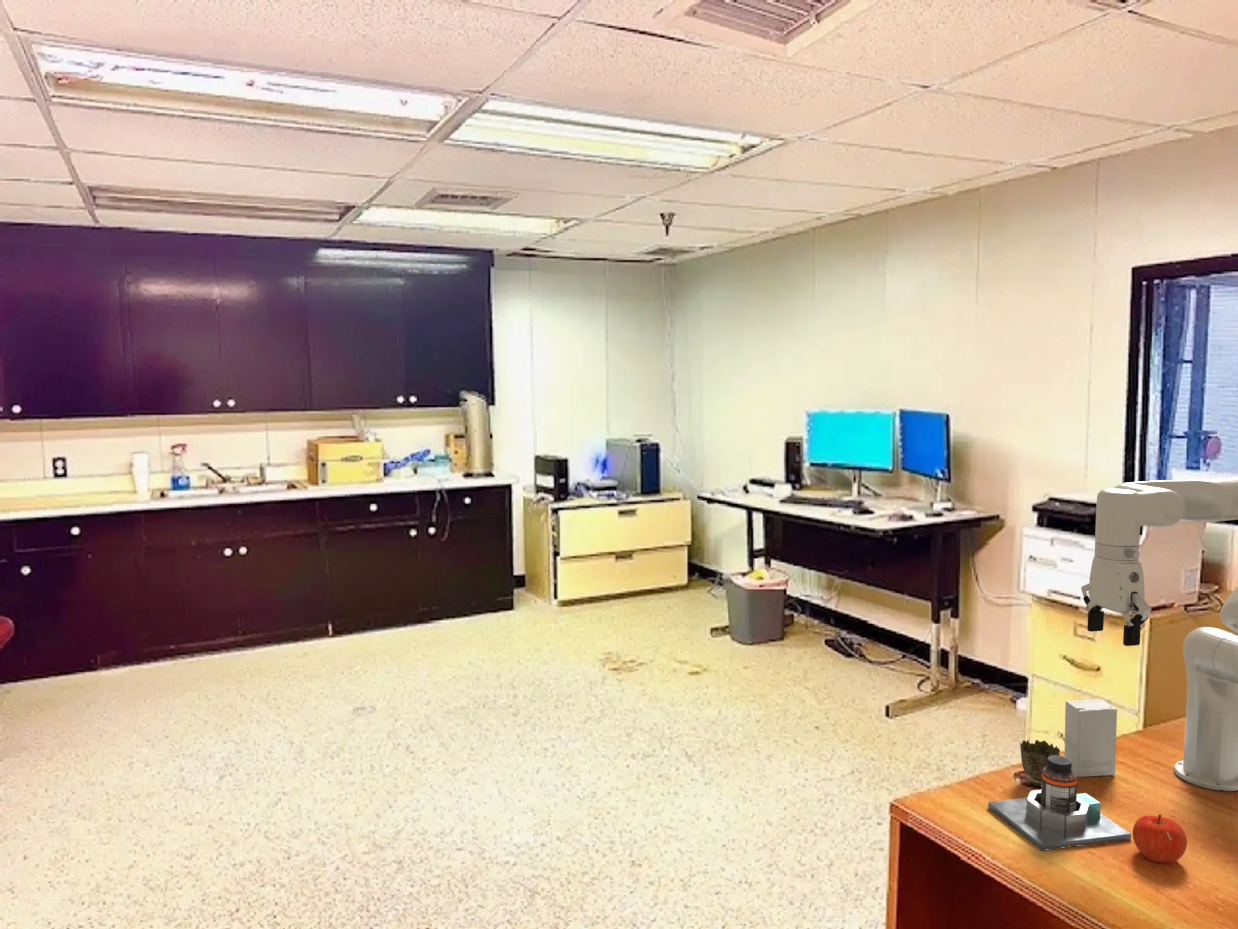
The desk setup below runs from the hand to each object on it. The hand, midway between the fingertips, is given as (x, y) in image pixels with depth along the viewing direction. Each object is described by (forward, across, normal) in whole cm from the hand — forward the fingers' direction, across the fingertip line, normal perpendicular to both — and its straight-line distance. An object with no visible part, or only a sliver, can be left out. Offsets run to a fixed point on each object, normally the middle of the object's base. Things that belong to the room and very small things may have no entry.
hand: (1112, 637), depth 172 cm
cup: (+32, +7, +10) cm, 35 cm away
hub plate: (+32, -8, +17) cm, 37 cm away
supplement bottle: (+31, -8, +17) cm, 36 cm away
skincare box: (+32, +10, -4) cm, 34 cm away
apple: (+33, -22, +8) cm, 40 cm away
